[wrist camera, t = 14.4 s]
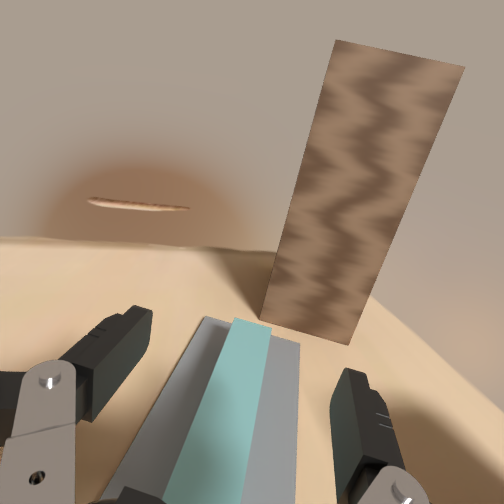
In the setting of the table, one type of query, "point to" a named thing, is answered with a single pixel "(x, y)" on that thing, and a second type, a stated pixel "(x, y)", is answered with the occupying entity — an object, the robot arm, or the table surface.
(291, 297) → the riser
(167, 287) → the table surface
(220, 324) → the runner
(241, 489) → the teal bar
